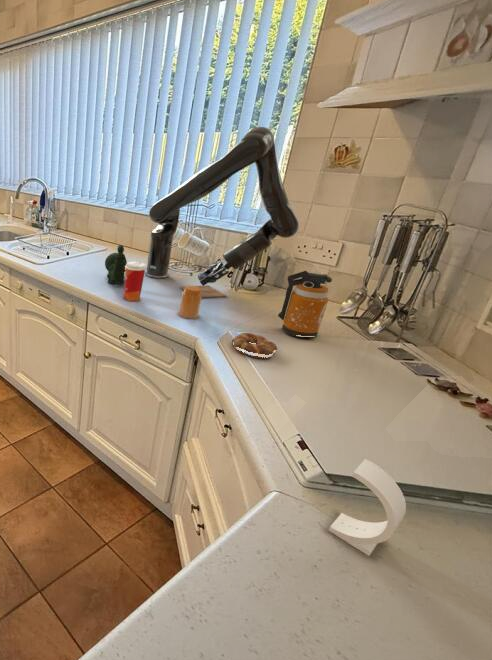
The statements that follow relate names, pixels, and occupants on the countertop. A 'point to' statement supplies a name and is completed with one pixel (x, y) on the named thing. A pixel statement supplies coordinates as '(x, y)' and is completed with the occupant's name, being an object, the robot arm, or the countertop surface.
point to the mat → (209, 292)
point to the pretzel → (260, 346)
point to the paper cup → (133, 280)
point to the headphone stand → (366, 532)
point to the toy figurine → (116, 266)
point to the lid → (203, 275)
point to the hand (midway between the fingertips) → (200, 280)
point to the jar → (190, 302)
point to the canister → (305, 304)
